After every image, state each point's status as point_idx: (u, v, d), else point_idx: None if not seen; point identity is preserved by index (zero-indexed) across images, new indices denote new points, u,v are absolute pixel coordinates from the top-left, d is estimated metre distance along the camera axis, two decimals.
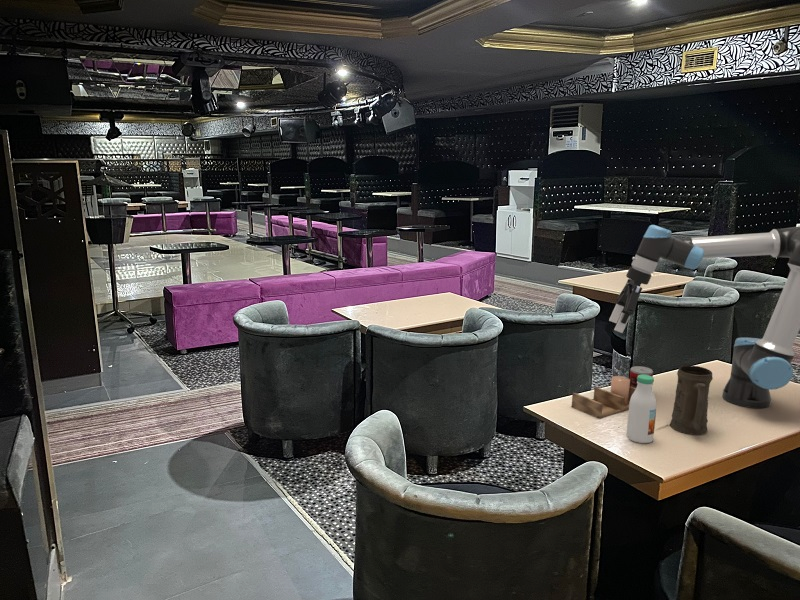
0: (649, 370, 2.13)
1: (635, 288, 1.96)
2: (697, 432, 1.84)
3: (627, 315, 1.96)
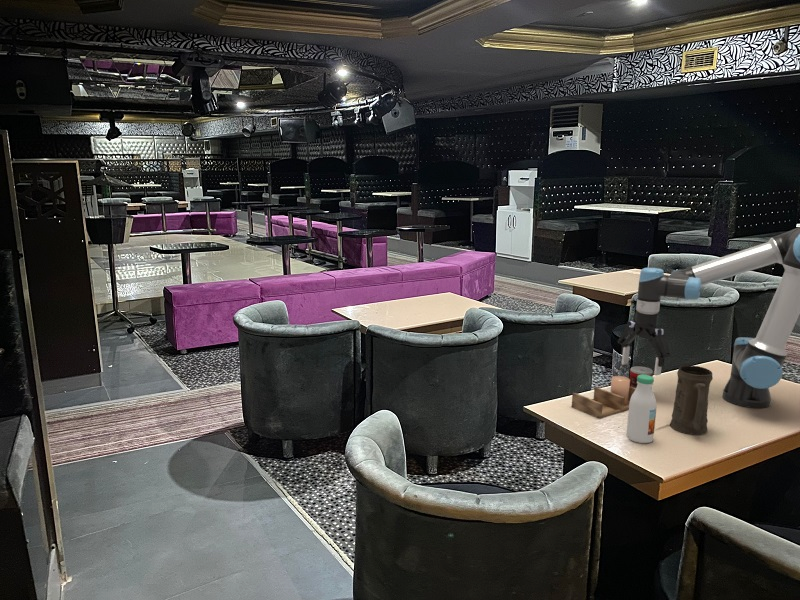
0: (649, 370, 2.13)
1: (661, 332, 2.04)
2: (697, 432, 1.84)
3: (663, 358, 2.05)
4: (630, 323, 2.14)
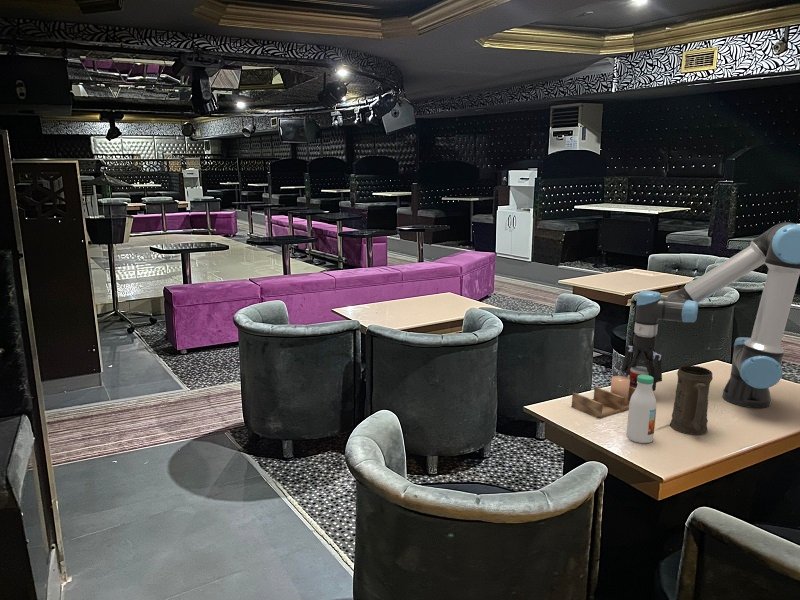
0: None
1: (658, 358, 2.06)
2: (697, 432, 1.84)
3: (655, 383, 2.09)
4: (628, 347, 2.16)
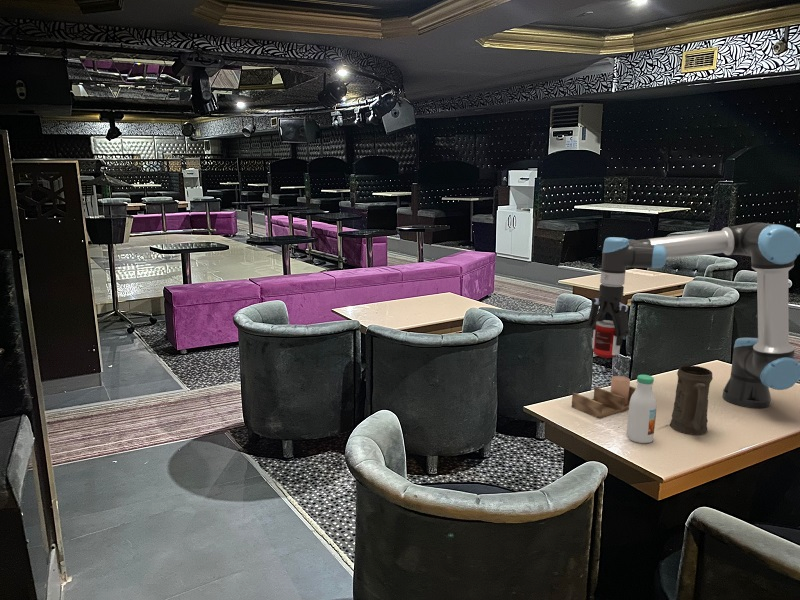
0: None
1: (624, 309, 1.90)
2: (697, 432, 1.84)
3: (621, 336, 1.93)
4: (594, 300, 2.01)
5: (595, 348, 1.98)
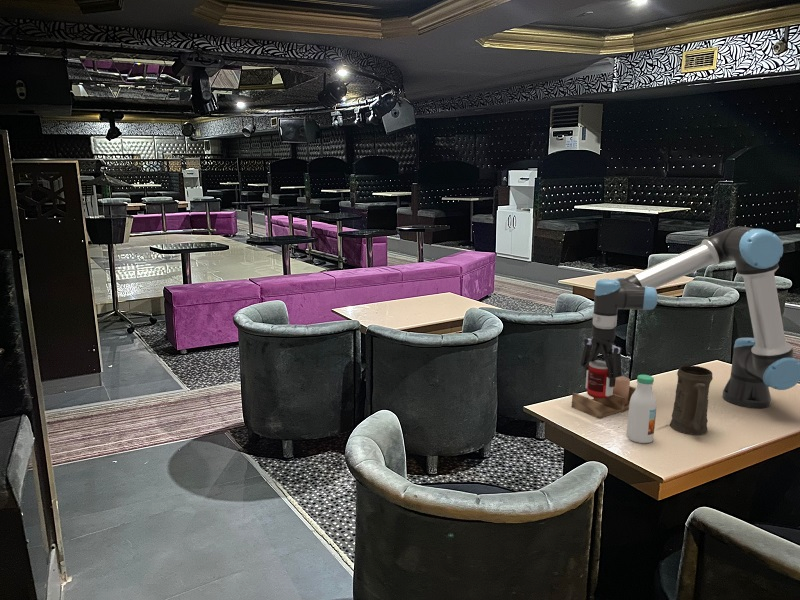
0: None
1: (617, 351, 1.91)
2: (697, 432, 1.84)
3: (614, 378, 1.95)
4: (587, 340, 2.02)
5: (588, 389, 1.99)
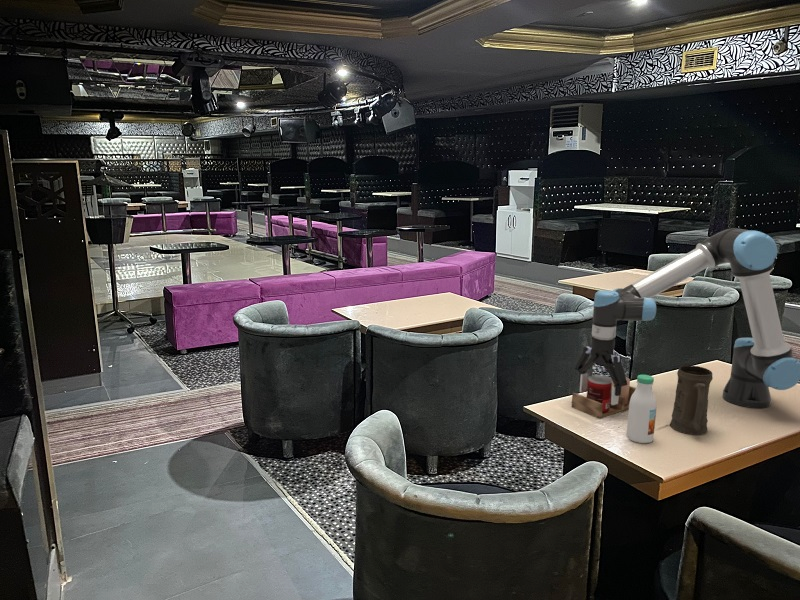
0: (608, 379, 2.00)
1: (617, 359, 1.92)
2: (697, 432, 1.84)
3: (620, 387, 1.93)
4: (586, 349, 2.02)
5: None
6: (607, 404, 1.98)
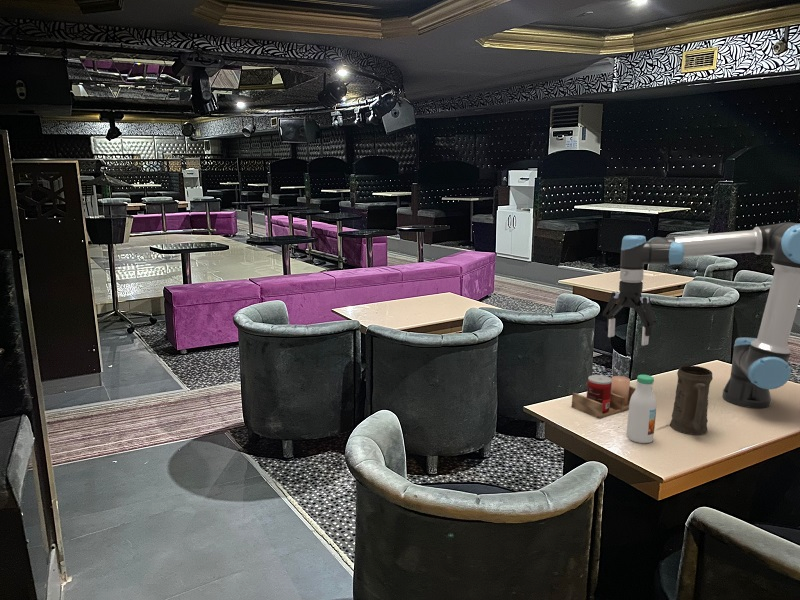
0: (608, 379, 2.00)
1: (646, 300, 1.98)
2: (697, 432, 1.84)
3: (650, 327, 1.99)
4: (614, 294, 2.08)
5: None
6: (607, 404, 1.98)
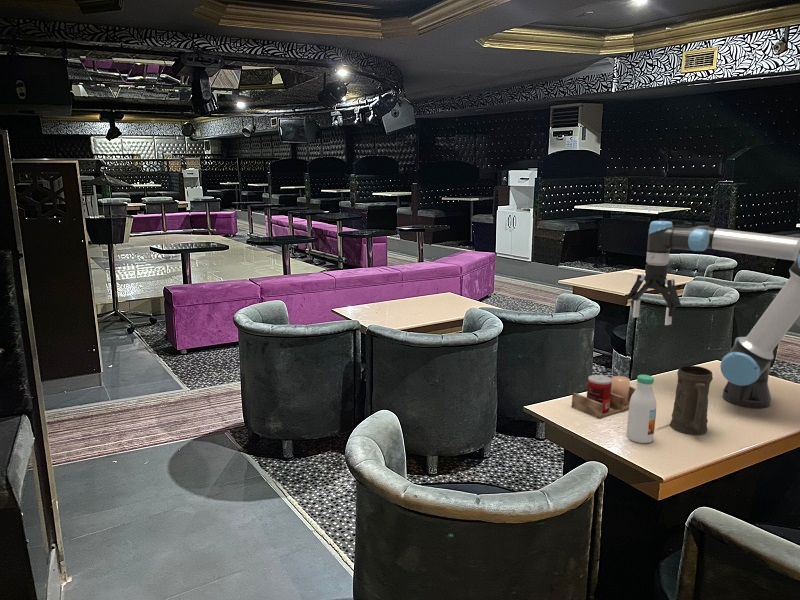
0: (608, 379, 2.00)
1: (671, 282, 2.10)
2: (697, 432, 1.84)
3: (674, 308, 2.11)
4: (640, 276, 2.20)
5: None
6: (607, 404, 1.98)
